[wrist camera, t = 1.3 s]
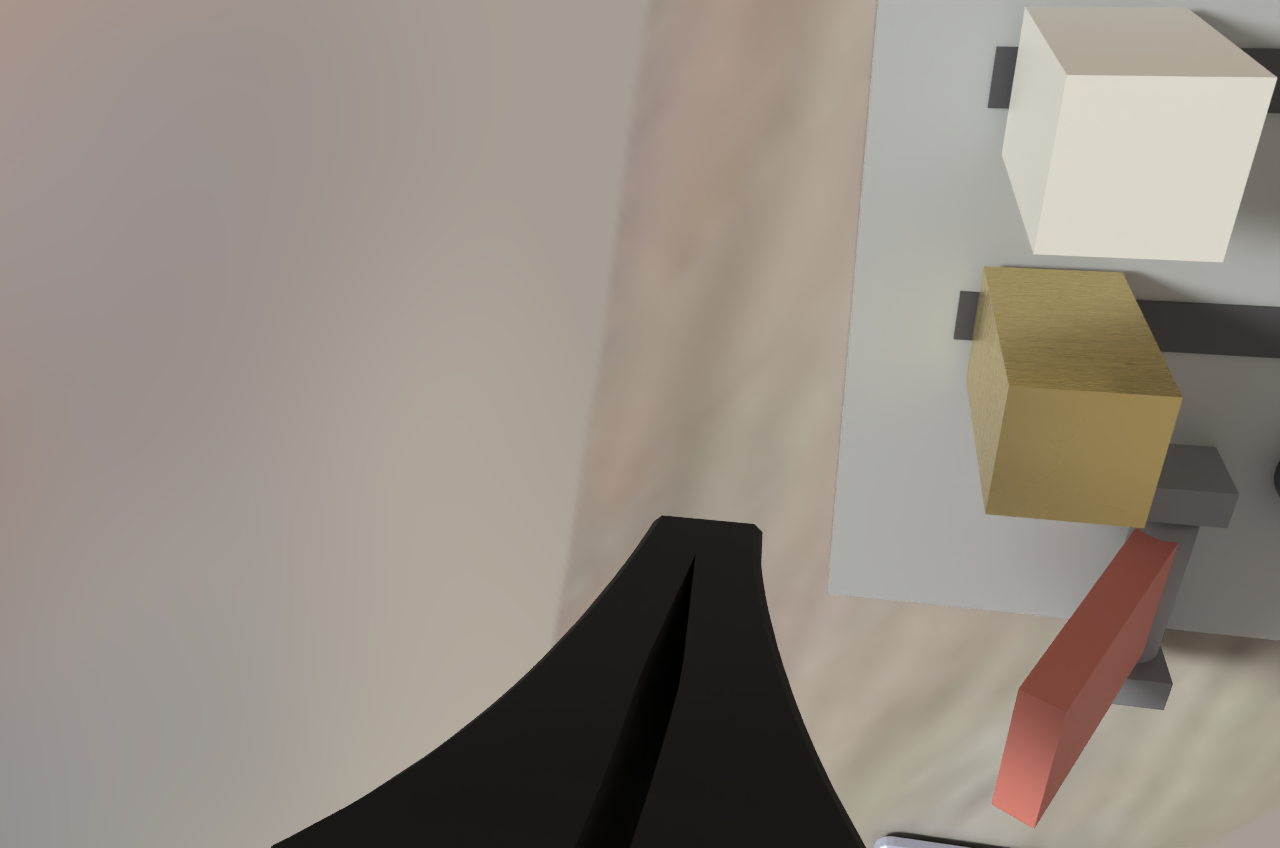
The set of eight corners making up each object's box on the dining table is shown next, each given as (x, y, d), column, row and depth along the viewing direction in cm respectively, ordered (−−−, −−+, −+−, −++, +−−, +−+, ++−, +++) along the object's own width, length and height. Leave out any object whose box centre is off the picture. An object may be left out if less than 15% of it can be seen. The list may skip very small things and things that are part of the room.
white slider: (1150, 157, 17) (1222, 262, 14) (1001, 154, 18) (1033, 254, 14) (1186, 6, 16) (1277, 77, 12) (1024, 7, 16) (1067, 74, 13)
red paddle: (1166, 639, 22) (1042, 845, 18) (1110, 615, 23) (978, 808, 19) (1209, 508, 20) (1082, 705, 16) (1147, 486, 21) (1010, 670, 17)
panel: (1306, 637, 24) (1352, 732, 21) (827, 588, 26) (822, 669, 23) (1615, -69, 16) (1743, -41, 13) (882, -61, 18) (883, -35, 15)
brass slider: (1095, 387, 20) (1143, 528, 16) (965, 378, 20) (985, 514, 16) (1122, 272, 18) (1183, 397, 15) (983, 266, 19) (1009, 385, 15)
